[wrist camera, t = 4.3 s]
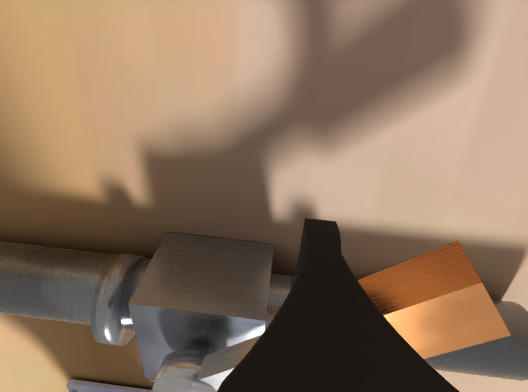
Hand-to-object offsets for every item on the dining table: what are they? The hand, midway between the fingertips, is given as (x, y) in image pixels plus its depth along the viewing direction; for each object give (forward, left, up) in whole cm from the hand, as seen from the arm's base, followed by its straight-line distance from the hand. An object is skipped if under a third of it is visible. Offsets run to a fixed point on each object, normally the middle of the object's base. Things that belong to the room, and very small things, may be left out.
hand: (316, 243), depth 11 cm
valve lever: (-4, 0, 0) cm, 4 cm away
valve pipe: (-7, +4, -5) cm, 9 cm away
